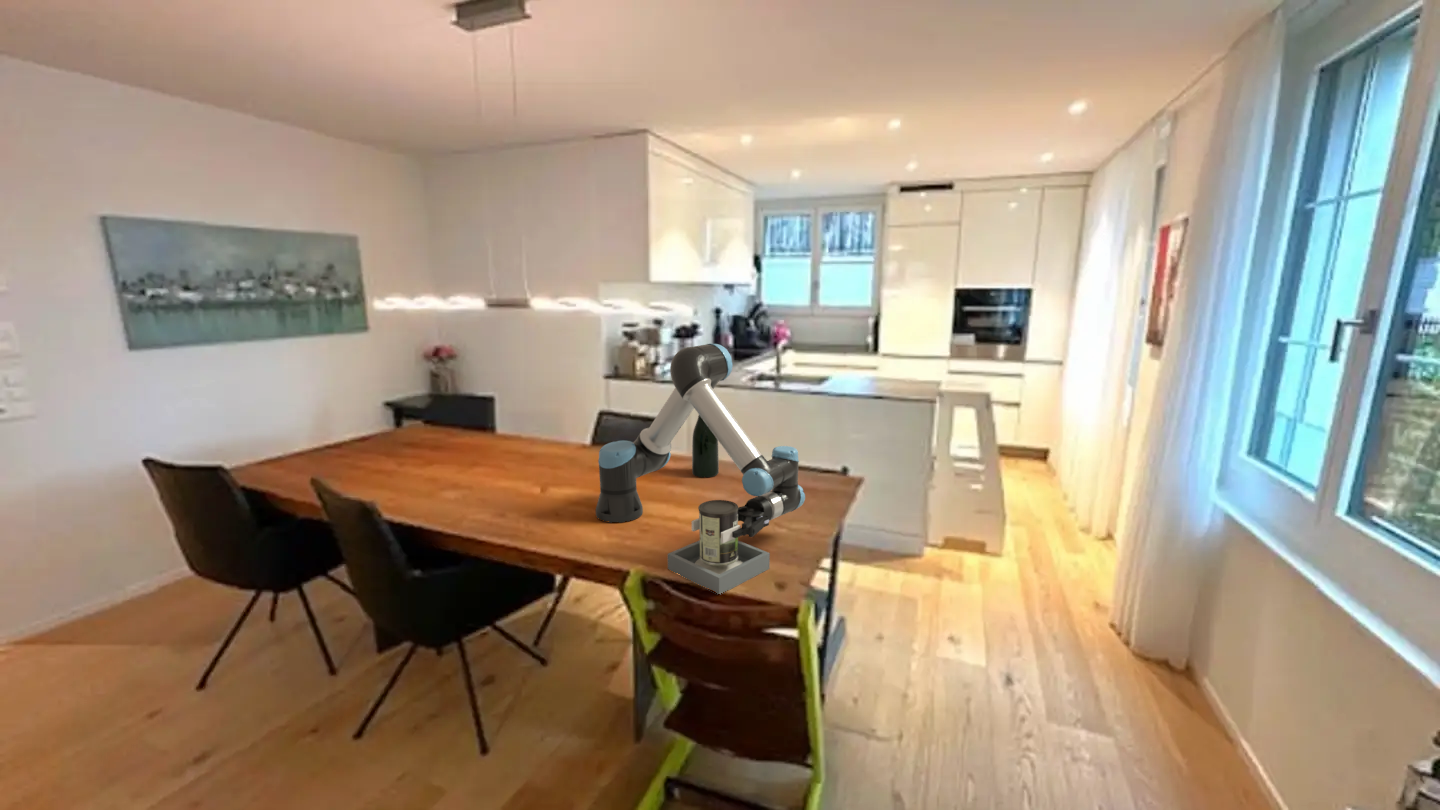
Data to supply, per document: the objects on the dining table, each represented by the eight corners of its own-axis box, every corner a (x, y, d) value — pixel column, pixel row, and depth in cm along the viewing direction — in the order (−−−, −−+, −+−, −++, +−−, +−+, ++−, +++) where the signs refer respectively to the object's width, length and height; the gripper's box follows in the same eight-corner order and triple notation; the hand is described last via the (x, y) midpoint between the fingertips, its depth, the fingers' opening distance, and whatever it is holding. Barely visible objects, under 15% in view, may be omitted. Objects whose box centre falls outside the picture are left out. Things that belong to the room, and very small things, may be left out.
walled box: (719, 595, 146) (719, 578, 146) (667, 569, 159) (667, 553, 159) (769, 568, 160) (769, 552, 159) (718, 547, 173) (718, 532, 172)
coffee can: (738, 548, 164) (738, 499, 161) (738, 566, 154) (738, 513, 151) (700, 548, 164) (699, 499, 161) (698, 566, 154) (697, 514, 151)
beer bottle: (694, 469, 244) (693, 389, 237) (719, 470, 243) (719, 389, 236) (690, 477, 234) (689, 394, 227) (717, 478, 233) (717, 394, 226)
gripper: (795, 532, 163) (739, 559, 147) (734, 511, 178) (677, 533, 163) (795, 505, 161) (739, 530, 146) (733, 486, 177) (677, 507, 161)
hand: (706, 531), depth 154 cm, fingers closed on coffee can, 10 cm apart
